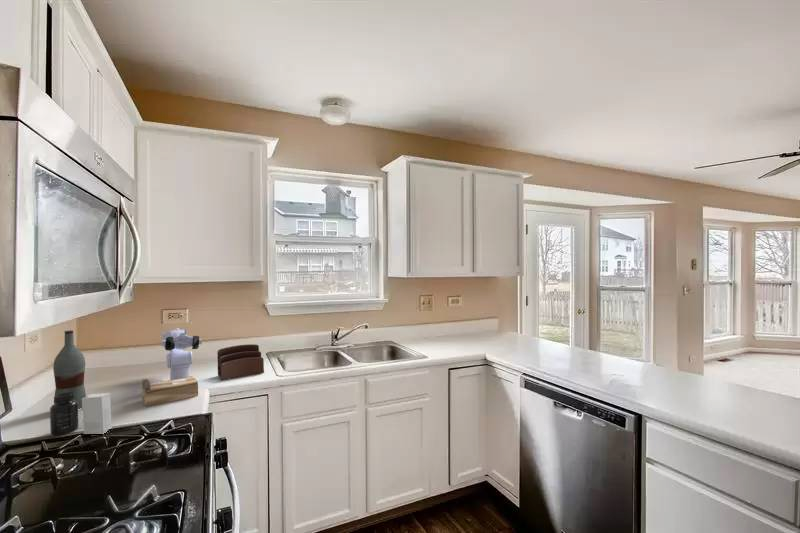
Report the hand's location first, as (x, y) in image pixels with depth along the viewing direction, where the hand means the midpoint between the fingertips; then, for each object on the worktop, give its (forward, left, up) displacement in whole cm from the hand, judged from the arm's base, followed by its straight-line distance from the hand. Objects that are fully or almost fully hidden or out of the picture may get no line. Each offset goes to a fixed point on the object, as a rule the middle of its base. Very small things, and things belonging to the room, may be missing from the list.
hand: (184, 346), depth 152 cm
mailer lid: (-6, -4, -16) cm, 17 cm away
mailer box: (-6, -4, -21) cm, 22 cm away
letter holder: (-22, +29, -22) cm, 42 cm away
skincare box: (+18, -28, -21) cm, 40 cm away
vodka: (-19, -35, -21) cm, 45 cm away
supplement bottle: (+8, -36, -21) cm, 43 cm away
